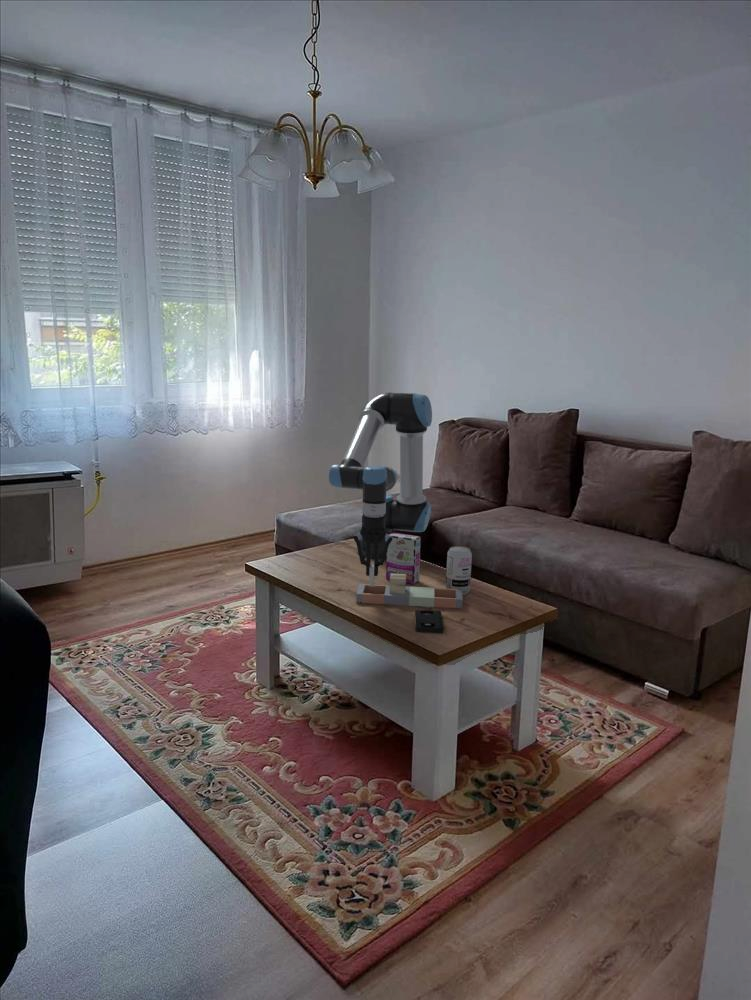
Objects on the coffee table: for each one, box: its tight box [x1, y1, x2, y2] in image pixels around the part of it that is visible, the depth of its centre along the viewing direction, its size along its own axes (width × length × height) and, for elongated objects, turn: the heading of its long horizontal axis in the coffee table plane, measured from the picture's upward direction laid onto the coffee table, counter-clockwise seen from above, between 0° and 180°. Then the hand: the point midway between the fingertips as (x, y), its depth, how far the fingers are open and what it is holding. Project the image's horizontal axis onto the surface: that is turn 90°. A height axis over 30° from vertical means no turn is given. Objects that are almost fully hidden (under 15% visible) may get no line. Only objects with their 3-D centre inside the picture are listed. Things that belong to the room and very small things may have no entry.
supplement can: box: [445, 545, 473, 596], centre depth 243 cm, size 8×8×15 cm
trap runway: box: [355, 583, 464, 610], centre depth 235 cm, size 10×34×3 cm, turn 85°
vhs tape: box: [414, 609, 444, 634], centre depth 216 cm, size 14×8×2 cm, turn 178°
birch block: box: [389, 573, 407, 594], centre depth 234 cm, size 5×5×5 cm
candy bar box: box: [385, 532, 422, 585], centre depth 253 cm, size 11×5×16 cm, turn 62°
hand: (371, 585), depth 235 cm, fingers closed
